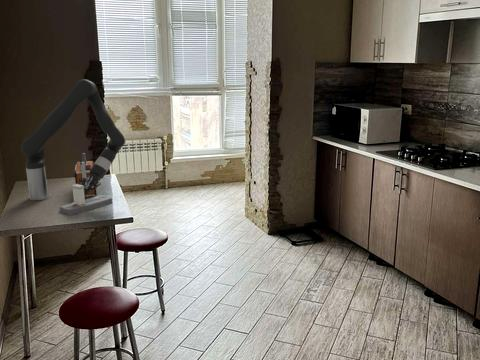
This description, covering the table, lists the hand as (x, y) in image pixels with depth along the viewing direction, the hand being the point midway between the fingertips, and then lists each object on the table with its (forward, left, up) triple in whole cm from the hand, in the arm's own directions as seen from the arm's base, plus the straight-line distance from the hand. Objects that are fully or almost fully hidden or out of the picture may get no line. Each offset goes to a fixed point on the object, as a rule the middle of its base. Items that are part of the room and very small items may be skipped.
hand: (82, 195), depth 228 cm
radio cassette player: (+7, +31, -7) cm, 32 cm away
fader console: (+2, +1, -6) cm, 7 cm away
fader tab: (-2, -1, -3) cm, 4 cm away
